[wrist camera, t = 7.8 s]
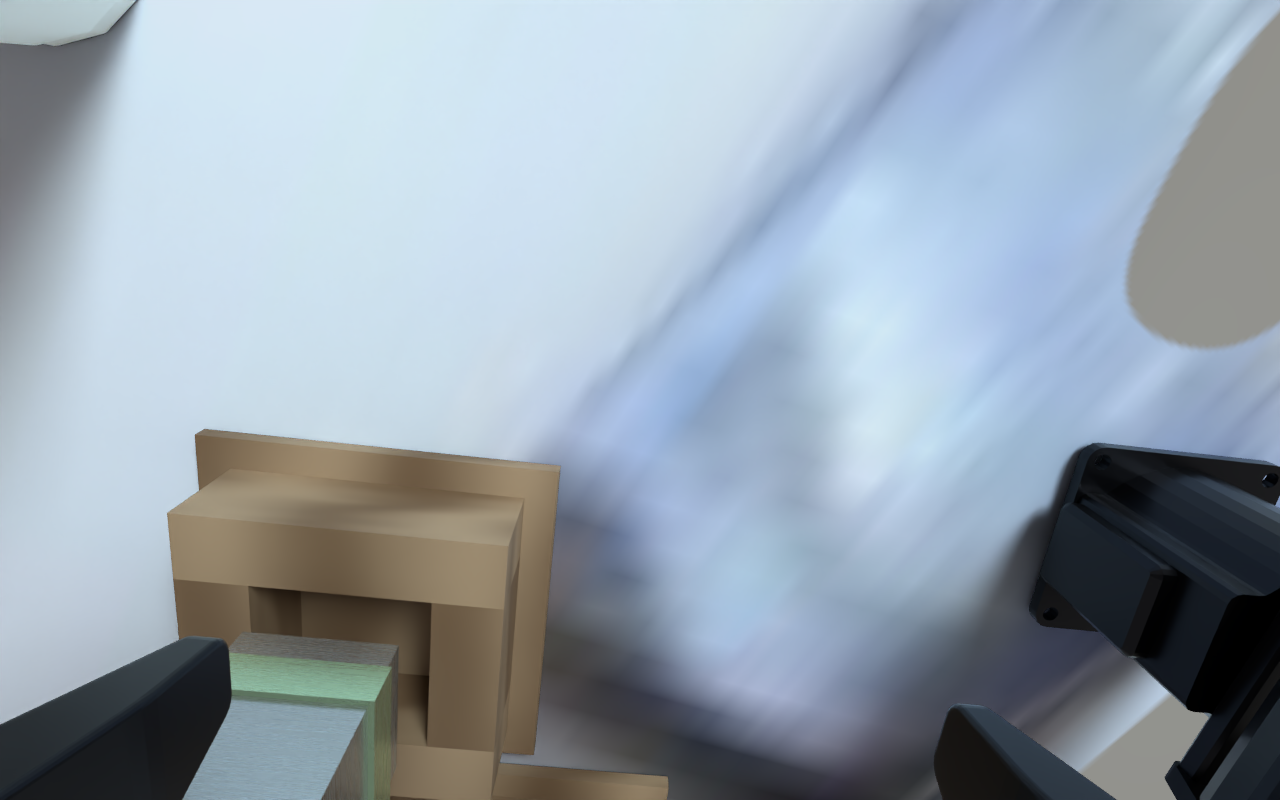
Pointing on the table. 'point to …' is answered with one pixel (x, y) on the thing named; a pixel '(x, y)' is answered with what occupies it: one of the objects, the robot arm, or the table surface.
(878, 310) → the table surface
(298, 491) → the marked collar
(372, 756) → the marked post
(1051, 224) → the table surface
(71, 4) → the foam cup
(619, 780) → the wooden square base
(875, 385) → the table surface
